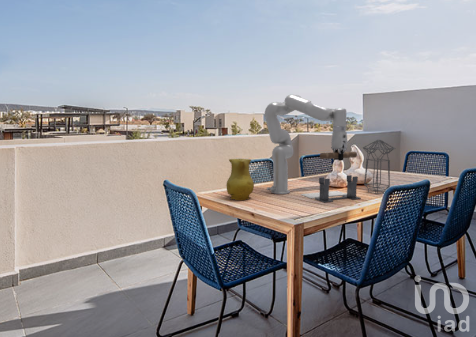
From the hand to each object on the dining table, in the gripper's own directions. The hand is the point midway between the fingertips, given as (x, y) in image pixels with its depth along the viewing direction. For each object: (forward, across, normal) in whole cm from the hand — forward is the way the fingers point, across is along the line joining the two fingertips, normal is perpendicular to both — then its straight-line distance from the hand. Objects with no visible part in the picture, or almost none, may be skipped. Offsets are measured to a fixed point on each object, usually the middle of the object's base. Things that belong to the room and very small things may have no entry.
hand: (338, 159), depth 215 cm
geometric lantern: (+24, +7, -36) cm, 44 cm away
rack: (+24, 0, 0) cm, 24 cm away
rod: (-1, 0, 0) cm, 1 cm away
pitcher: (+25, +26, +53) cm, 64 cm away
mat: (+24, +14, 0) cm, 28 cm away
